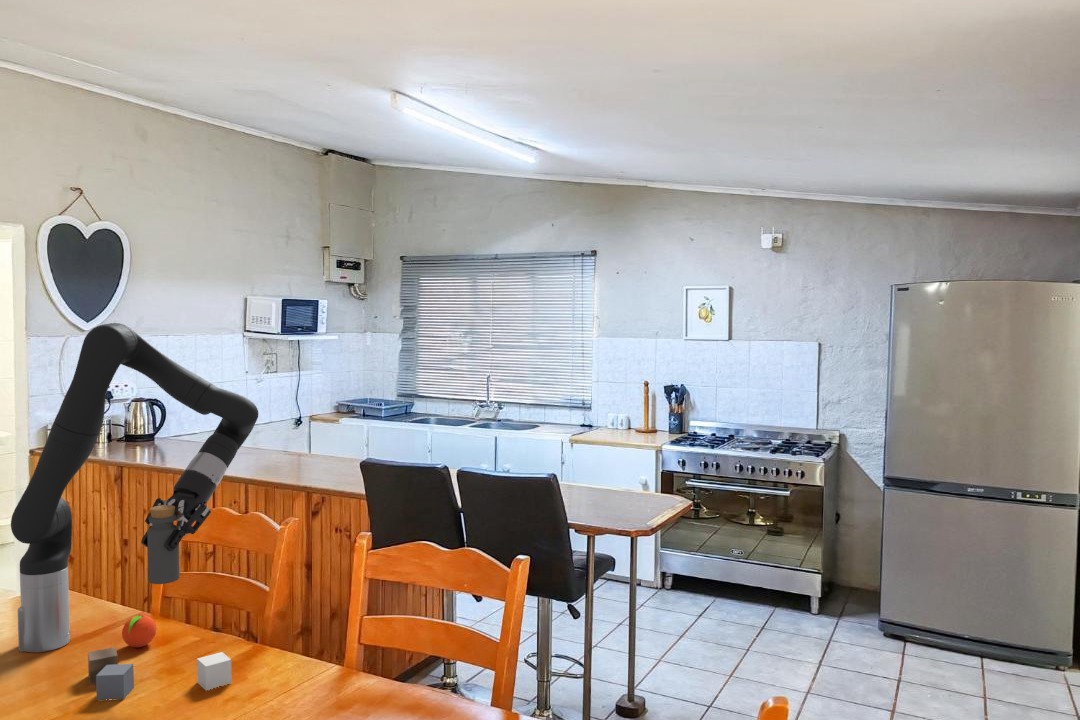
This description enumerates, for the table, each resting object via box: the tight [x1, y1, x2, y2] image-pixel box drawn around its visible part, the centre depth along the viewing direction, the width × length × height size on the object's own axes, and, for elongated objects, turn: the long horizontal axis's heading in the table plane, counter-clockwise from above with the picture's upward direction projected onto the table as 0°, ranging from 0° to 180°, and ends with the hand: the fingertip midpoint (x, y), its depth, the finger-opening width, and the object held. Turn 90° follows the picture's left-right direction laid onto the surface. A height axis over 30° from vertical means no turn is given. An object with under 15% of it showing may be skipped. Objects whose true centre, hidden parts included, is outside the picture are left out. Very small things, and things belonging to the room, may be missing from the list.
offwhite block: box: [196, 651, 232, 692], centre depth 165 cm, size 5×5×5 cm
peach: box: [121, 614, 157, 648], centre depth 183 cm, size 8×7×7 cm
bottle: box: [146, 505, 181, 585], centre depth 168 cm, size 6×6×15 cm
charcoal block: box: [95, 663, 135, 701], centre depth 160 cm, size 5×5×5 cm
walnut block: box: [87, 646, 119, 686], centre depth 168 cm, size 5×5×5 cm
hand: (156, 546), depth 167 cm, fingers closed on bottle, 5 cm apart
